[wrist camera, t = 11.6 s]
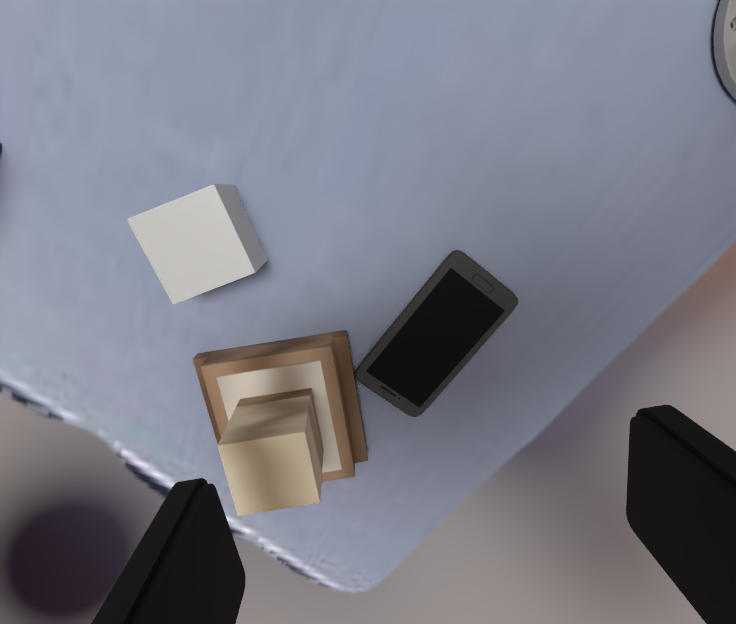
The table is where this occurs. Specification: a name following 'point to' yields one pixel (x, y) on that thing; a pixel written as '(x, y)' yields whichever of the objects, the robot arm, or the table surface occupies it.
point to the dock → (292, 389)
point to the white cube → (199, 241)
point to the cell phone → (436, 334)
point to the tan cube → (273, 452)
